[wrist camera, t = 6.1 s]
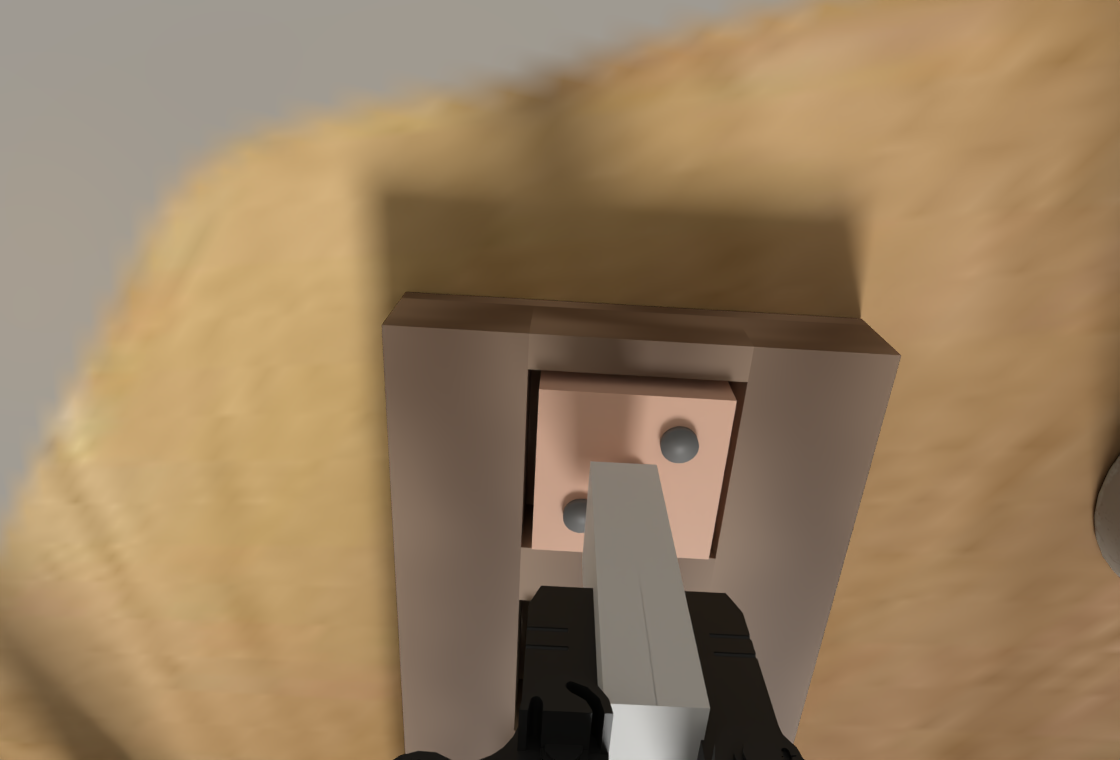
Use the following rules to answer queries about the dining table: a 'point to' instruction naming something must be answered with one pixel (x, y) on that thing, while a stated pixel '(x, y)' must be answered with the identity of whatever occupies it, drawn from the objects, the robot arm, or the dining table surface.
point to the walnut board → (518, 570)
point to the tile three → (630, 450)
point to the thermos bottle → (1109, 518)
